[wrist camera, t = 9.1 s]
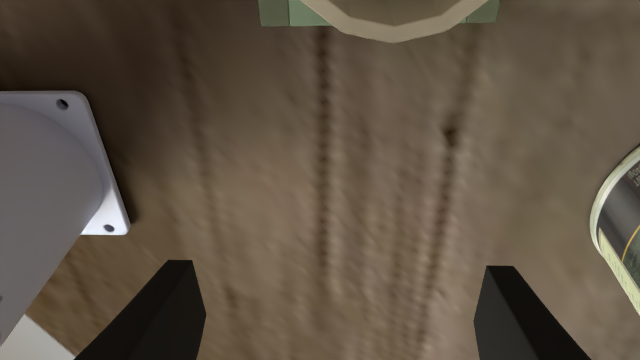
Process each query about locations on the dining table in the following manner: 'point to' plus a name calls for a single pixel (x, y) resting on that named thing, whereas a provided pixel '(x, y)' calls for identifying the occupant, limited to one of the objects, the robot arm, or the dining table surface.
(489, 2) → the frame
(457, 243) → the dining table surface
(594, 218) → the coffee can
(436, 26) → the cream tumbler
